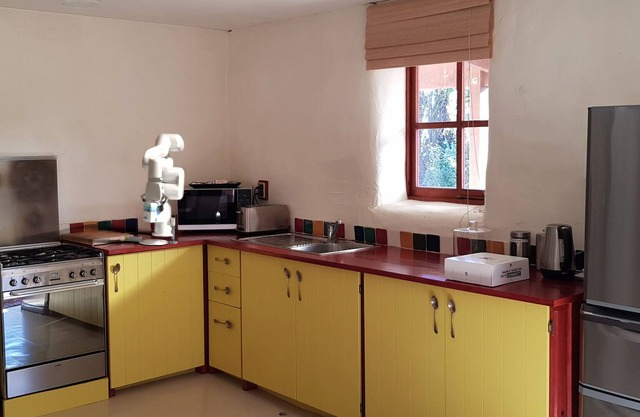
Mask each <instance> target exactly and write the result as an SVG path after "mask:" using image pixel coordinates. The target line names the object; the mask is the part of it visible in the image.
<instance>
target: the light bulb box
mask: <svg viewBox="0 0 640 417" xmlns="http://www.w3.org/2000/svg"><path fill="white" fill-rule="evenodd" d="M160 205H161V204H160V203H159V202H155V201H149V202H143V212H142V213H143V218H142V219H143V220H142V221H143V222H146V223H155V222H163V221H165V204H164V210H163V212H159V210H160Z"/></svg>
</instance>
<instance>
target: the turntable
mask: <svg viewBox="0 0 640 417" xmlns="http://www.w3.org/2000/svg"><path fill="white" fill-rule="evenodd" d="M123 239H124V241H129V242H138V243H139V244H142V245H146V246H147V245H148V246H160V245H168V244H169V241H167V240H164V239H151V238H150V239H143V238H142V236H132V235H127V234H126V235H124V238H123Z"/></svg>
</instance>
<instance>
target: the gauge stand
mask: <svg viewBox="0 0 640 417" xmlns="http://www.w3.org/2000/svg"><path fill="white" fill-rule="evenodd" d="M167 225H169V226H171V227H172V230H171V233H172V236H171V240H170V241H168V244H169V243H170V245H176V244H178V241H177V240H175V226H176V218H175V217H171V218H169V217H168V218H167Z"/></svg>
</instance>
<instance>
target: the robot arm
mask: <svg viewBox="0 0 640 417" xmlns="http://www.w3.org/2000/svg"><path fill="white" fill-rule="evenodd" d="M184 149H185V142H184V140H183V137H182V136H181V135H180V134H178V133H159V135H158V136H156V139H155V143H154V146H153V147H151V148H149V149H148V150H146V151H145V152H144V154H143V156H142V158H141V159H142V160H141V167H142V169H143V170H145V171H147V182H146V184H145V192H144V193H143V194H141V195H140V196H139V197H140V198H141V201H142V203H144V202H159V203H160V204H161V205H160V210H159V212H163V210H164V204H165V221H163V222H154V232H151V235H152V236H154V237H172V226H169V225H167V218H168V217H169V218H172V205H171V204H170V202H169V201H168V200H182V198H183V197H184V191H185V189H184V188H185V170H184V169H183V167H178V166H175V167H174V159H173V157H172V156H171V155H170V154H169V153H170V152H171V153H182V152H183V151H184Z"/></svg>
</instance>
